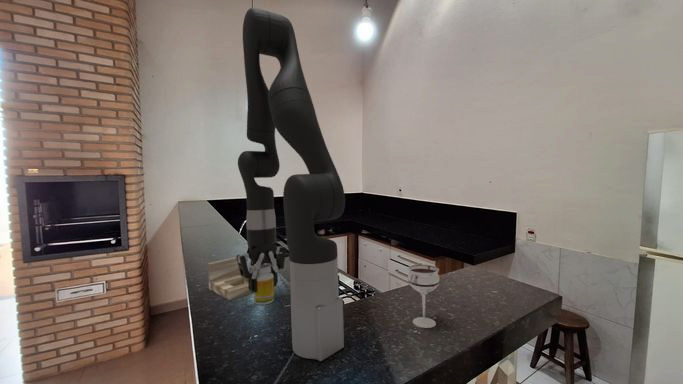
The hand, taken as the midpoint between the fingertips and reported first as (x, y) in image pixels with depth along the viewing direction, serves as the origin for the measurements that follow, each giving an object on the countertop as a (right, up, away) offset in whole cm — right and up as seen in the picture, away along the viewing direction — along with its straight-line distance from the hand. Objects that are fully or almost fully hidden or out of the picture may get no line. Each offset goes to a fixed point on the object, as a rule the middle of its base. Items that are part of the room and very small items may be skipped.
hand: (263, 288), depth 80 cm
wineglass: (+39, -3, -14) cm, 42 cm away
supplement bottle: (0, -4, 0) cm, 4 cm away
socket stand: (-10, -3, +10) cm, 14 cm away
